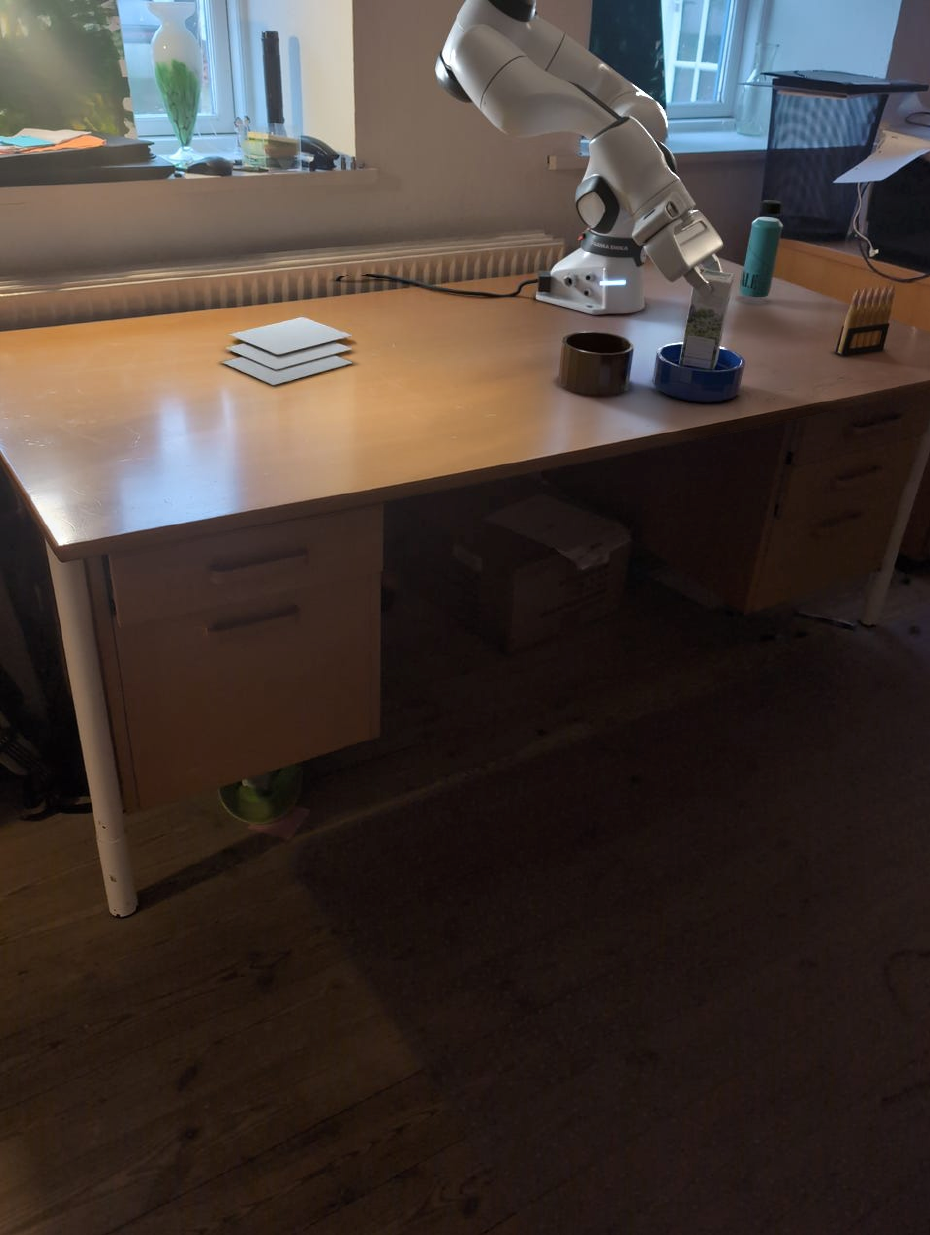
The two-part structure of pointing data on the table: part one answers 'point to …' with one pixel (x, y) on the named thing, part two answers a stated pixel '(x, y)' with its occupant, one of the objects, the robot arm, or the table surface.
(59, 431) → the table surface
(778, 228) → the beverage bottle
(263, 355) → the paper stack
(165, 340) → the table surface
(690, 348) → the syrup box
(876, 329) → the ammunition clip
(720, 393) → the bowl
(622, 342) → the cup
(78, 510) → the table surface
